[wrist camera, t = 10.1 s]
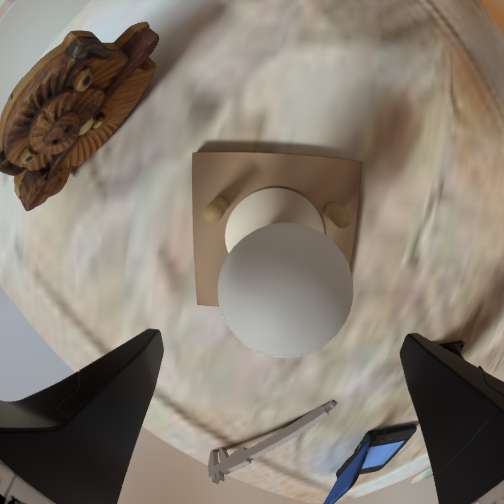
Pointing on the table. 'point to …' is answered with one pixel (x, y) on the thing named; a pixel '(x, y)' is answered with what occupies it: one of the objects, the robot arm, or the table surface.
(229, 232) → the pin holder
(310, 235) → the lightbulb
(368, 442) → the handheld game console
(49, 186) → the wooden carving
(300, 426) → the caliper
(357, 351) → the table surface
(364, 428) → the table surface
